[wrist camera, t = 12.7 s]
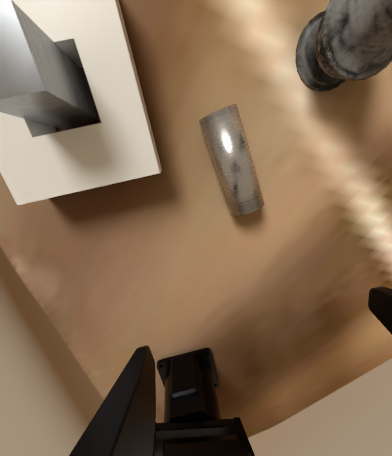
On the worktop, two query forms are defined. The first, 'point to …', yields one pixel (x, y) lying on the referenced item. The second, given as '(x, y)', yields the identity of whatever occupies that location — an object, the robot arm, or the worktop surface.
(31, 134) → the socket block
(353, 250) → the worktop surface
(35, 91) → the square bit
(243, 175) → the round bit
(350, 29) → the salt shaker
